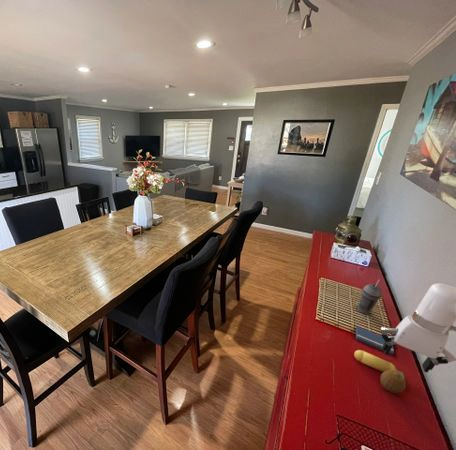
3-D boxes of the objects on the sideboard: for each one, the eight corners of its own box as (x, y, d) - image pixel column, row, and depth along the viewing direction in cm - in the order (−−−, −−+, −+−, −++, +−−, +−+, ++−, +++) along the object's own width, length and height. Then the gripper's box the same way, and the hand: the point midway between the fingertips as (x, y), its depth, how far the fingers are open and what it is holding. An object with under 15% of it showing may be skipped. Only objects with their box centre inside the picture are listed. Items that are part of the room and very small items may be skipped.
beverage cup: (371, 309, 122) (387, 277, 115) (373, 318, 117) (391, 284, 109) (353, 303, 126) (368, 272, 118) (355, 312, 120) (370, 279, 112)
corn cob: (401, 375, 90) (406, 367, 88) (402, 384, 87) (408, 376, 85) (352, 353, 98) (356, 345, 96) (352, 360, 95) (356, 352, 93)
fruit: (374, 377, 89) (383, 362, 86) (396, 386, 86) (406, 371, 83) (378, 391, 84) (388, 376, 81) (402, 401, 81) (413, 386, 78)
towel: (390, 342, 104) (392, 339, 103) (392, 354, 98) (394, 352, 97) (356, 328, 110) (357, 325, 110) (356, 339, 105) (357, 336, 104)
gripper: (468, 328, 71) (438, 367, 78) (391, 302, 80) (370, 338, 87) (478, 345, 65) (444, 385, 72) (393, 314, 75) (371, 352, 82)
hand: (404, 360), depth 80 cm, fingers open, 9 cm apart
